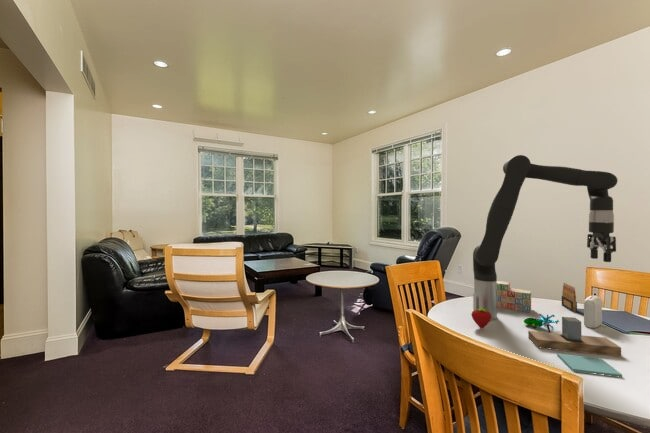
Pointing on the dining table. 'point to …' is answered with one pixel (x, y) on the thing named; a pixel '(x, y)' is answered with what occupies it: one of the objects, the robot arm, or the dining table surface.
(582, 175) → the robot arm
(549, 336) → the brown slotted block
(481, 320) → the strawberry
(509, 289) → the stack of blocks
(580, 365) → the teal pad
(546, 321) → the stick construction toy
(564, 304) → the brown flat upright panel
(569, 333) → the steel plug
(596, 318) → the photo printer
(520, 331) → the dining table surface
